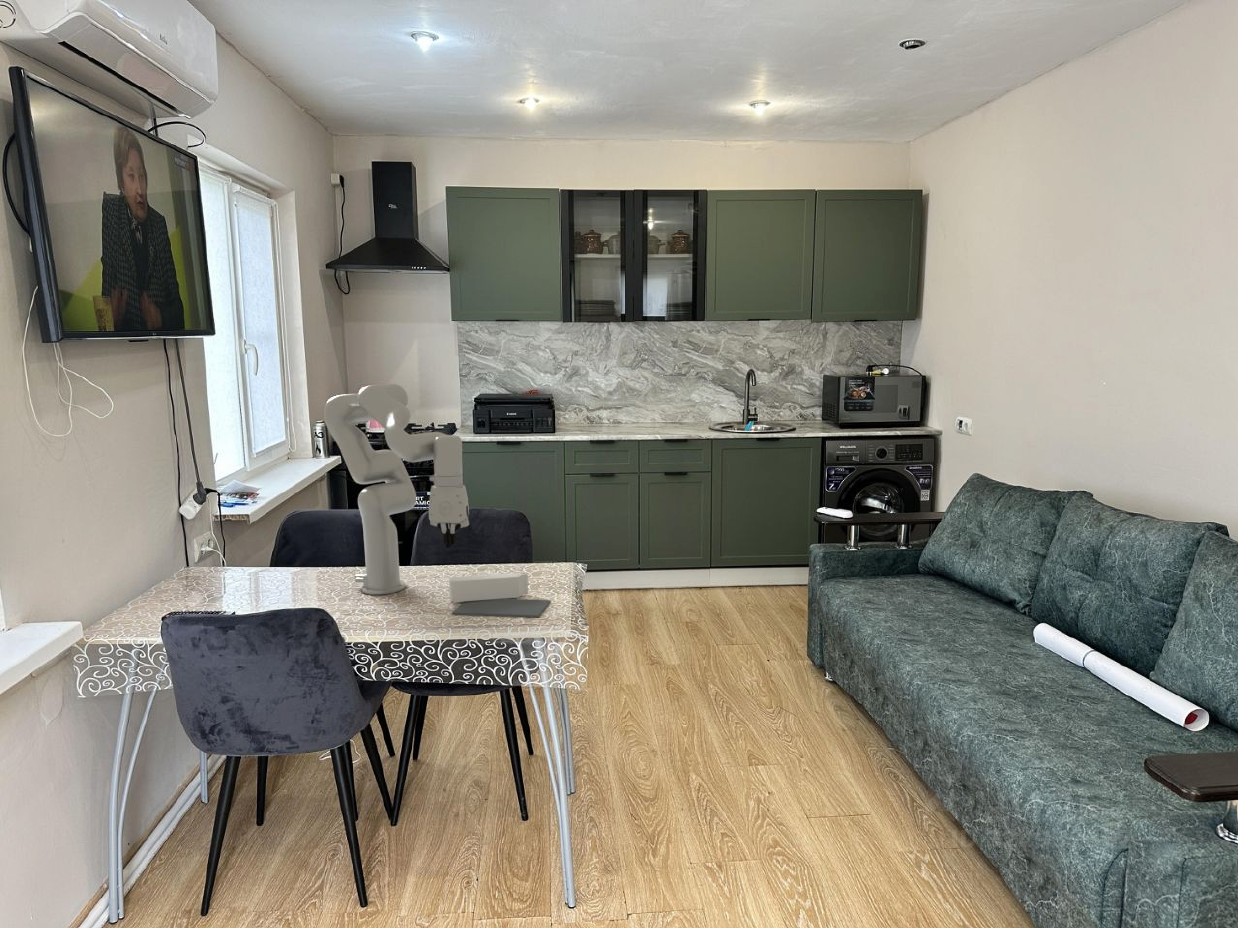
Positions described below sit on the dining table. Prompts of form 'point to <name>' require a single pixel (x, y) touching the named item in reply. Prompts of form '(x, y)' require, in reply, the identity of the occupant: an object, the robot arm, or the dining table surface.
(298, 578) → the dining table surface
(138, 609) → the dining table surface
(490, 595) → the milk
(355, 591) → the dining table surface
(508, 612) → the mat
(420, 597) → the dining table surface
